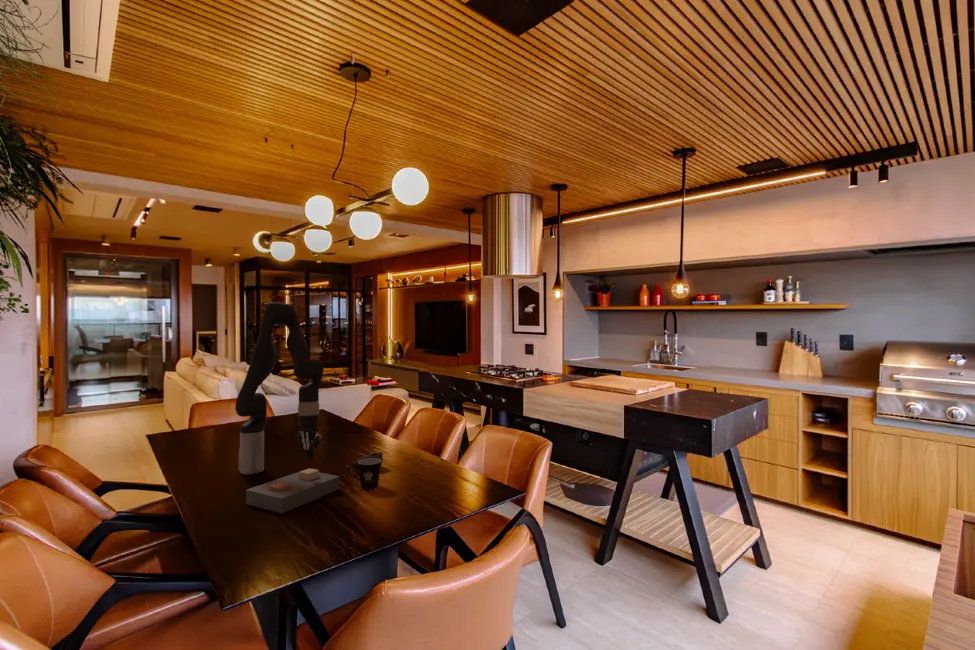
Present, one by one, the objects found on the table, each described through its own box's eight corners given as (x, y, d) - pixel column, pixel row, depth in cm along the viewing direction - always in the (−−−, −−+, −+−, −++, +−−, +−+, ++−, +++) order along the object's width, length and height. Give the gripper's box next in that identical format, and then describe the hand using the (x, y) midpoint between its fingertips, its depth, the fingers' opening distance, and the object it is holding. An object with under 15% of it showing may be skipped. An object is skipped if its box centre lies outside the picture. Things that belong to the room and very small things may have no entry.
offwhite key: (298, 482, 177) (298, 471, 177) (309, 478, 181) (309, 468, 181) (308, 484, 174) (308, 473, 174) (318, 480, 179) (318, 470, 179)
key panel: (246, 504, 165) (246, 489, 165) (305, 482, 188) (305, 469, 188) (281, 513, 156) (281, 498, 156) (339, 489, 179) (339, 476, 179)
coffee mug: (385, 485, 185) (385, 459, 185) (372, 492, 176) (373, 465, 176) (359, 481, 188) (359, 456, 188) (346, 488, 180) (346, 462, 180)
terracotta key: (268, 497, 165) (268, 485, 165) (280, 492, 170) (280, 481, 170) (278, 499, 163) (278, 488, 163) (290, 494, 167) (290, 483, 167)
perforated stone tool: (355, 476, 196) (355, 459, 196) (349, 473, 199) (349, 456, 199) (386, 468, 206) (386, 452, 206) (380, 466, 210) (380, 450, 210)
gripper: (288, 413, 177) (288, 459, 177) (313, 416, 171) (313, 463, 171) (304, 409, 184) (304, 454, 184) (329, 412, 178) (329, 458, 178)
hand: (308, 458), depth 178 cm, fingers closed
